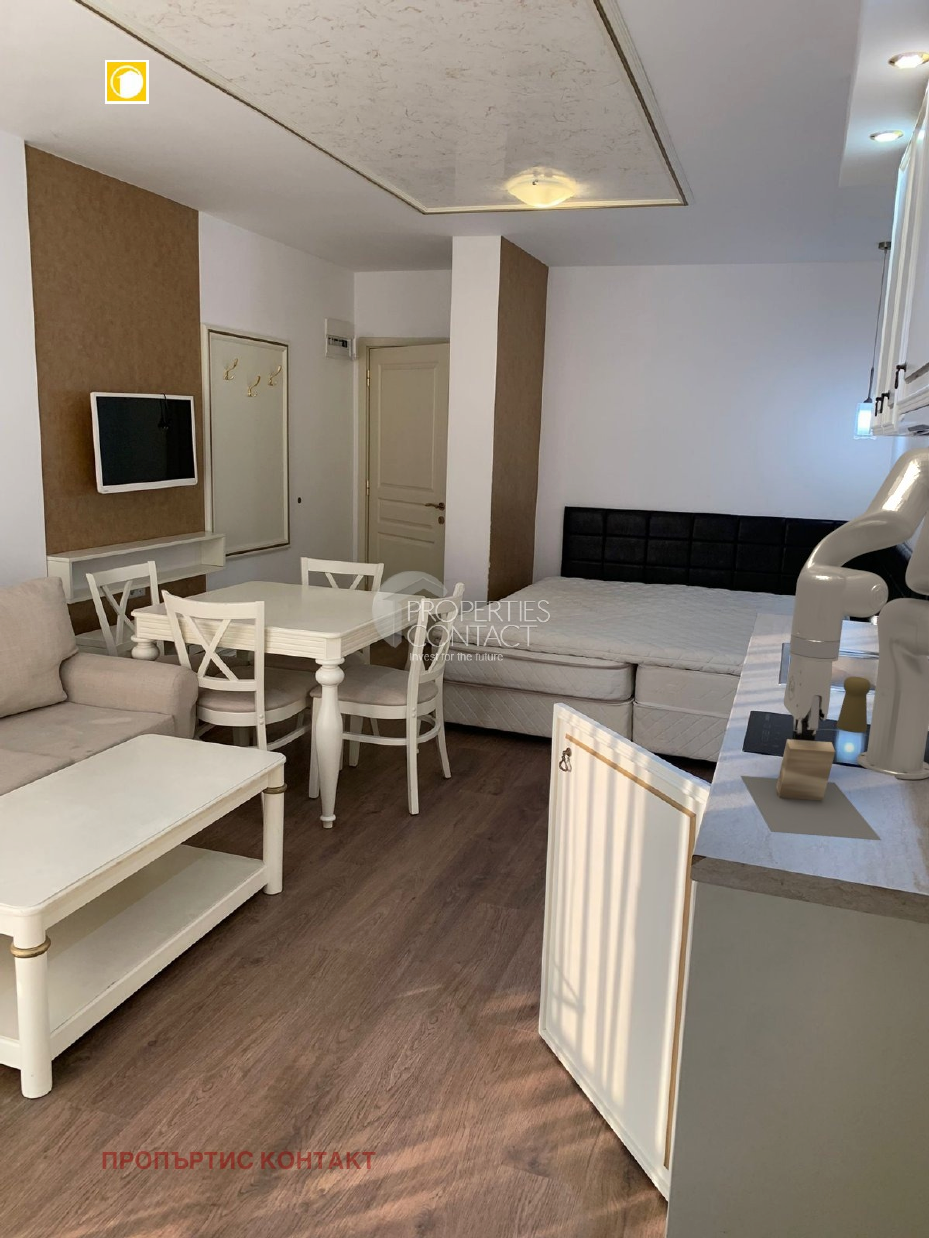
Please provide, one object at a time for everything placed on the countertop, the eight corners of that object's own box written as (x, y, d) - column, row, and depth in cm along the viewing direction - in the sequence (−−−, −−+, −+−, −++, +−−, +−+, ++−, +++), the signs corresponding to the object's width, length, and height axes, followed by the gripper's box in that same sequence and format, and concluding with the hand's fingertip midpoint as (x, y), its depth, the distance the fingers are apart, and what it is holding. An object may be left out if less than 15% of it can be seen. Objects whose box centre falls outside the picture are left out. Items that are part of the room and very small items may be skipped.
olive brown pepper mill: (859, 724, 200) (865, 674, 198) (872, 733, 194) (878, 681, 192) (831, 723, 200) (837, 673, 198) (843, 732, 194) (850, 680, 192)
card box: (775, 786, 156) (786, 738, 151) (818, 789, 156) (831, 741, 151) (779, 797, 154) (790, 748, 149) (822, 800, 153) (835, 751, 148)
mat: (740, 778, 164) (740, 775, 163) (834, 785, 162) (834, 782, 162) (770, 835, 140) (771, 831, 140) (881, 843, 139) (881, 839, 139)
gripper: (780, 637, 159) (768, 740, 162) (801, 656, 144) (788, 769, 147) (825, 640, 158) (812, 744, 161) (852, 659, 143) (837, 773, 147)
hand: (801, 756), depth 154 cm, fingers closed
